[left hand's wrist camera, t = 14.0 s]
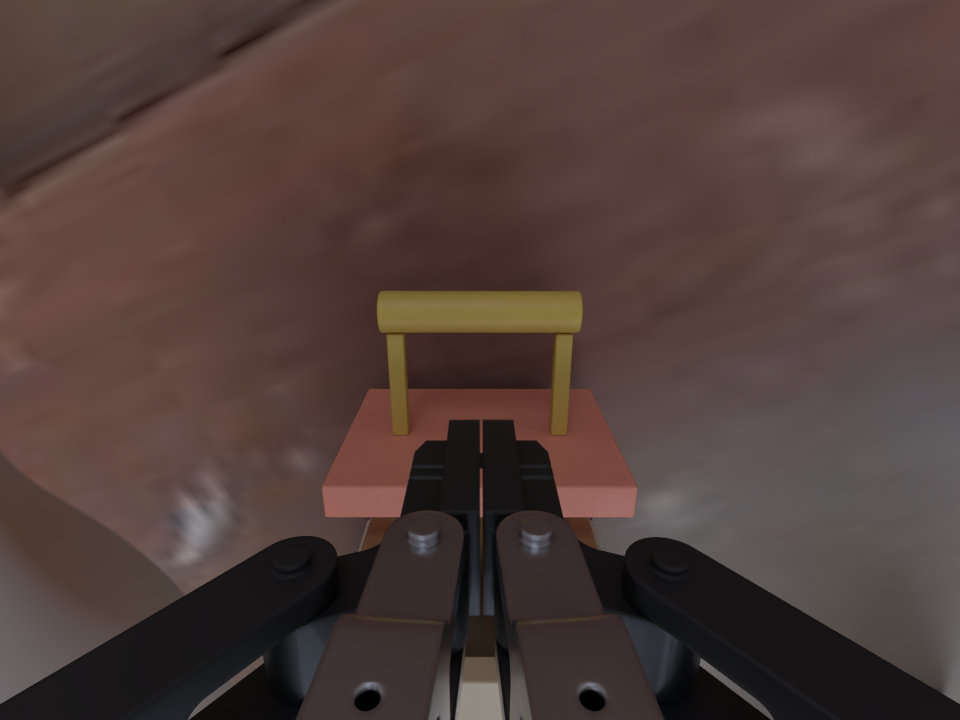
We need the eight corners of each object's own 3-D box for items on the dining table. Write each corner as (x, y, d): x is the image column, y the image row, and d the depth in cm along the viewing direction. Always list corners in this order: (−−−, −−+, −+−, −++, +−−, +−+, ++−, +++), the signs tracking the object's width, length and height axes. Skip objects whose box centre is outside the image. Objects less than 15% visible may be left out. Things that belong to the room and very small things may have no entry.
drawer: (359, 268, 22) (300, 320, 15) (600, 268, 22) (659, 320, 15) (389, 660, 30) (360, 821, 23) (569, 660, 30) (597, 821, 23)
